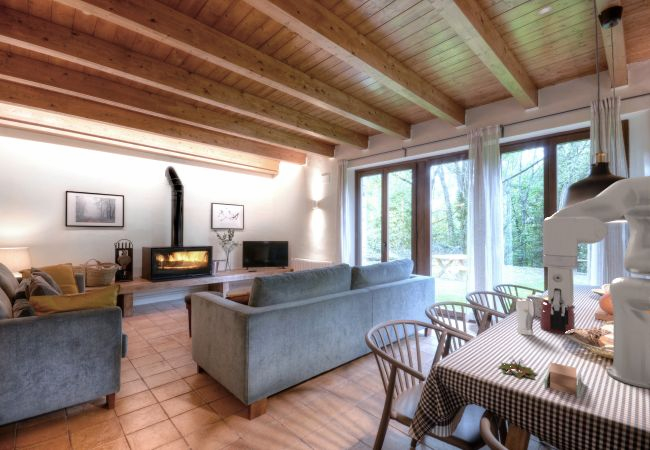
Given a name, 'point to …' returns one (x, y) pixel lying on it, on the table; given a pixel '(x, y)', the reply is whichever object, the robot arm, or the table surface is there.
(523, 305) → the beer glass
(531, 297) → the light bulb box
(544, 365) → the table surface
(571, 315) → the canister
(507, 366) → the green twiggy clump
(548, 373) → the pair of grey-green bars
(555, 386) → the terracotta block
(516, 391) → the table surface
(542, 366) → the table surface
